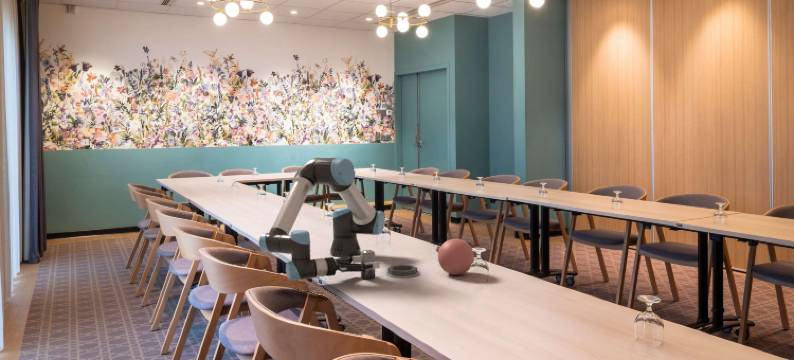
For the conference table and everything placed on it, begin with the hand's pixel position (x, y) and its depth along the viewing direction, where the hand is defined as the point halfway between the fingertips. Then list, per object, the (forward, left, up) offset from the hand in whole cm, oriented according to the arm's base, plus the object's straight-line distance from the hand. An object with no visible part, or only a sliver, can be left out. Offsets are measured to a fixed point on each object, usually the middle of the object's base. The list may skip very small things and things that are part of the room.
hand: (373, 261), depth 260 cm
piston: (0, -2, -7) cm, 7 cm away
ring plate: (0, +14, -7) cm, 15 cm away
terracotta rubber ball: (+10, +33, -7) cm, 35 cm away
